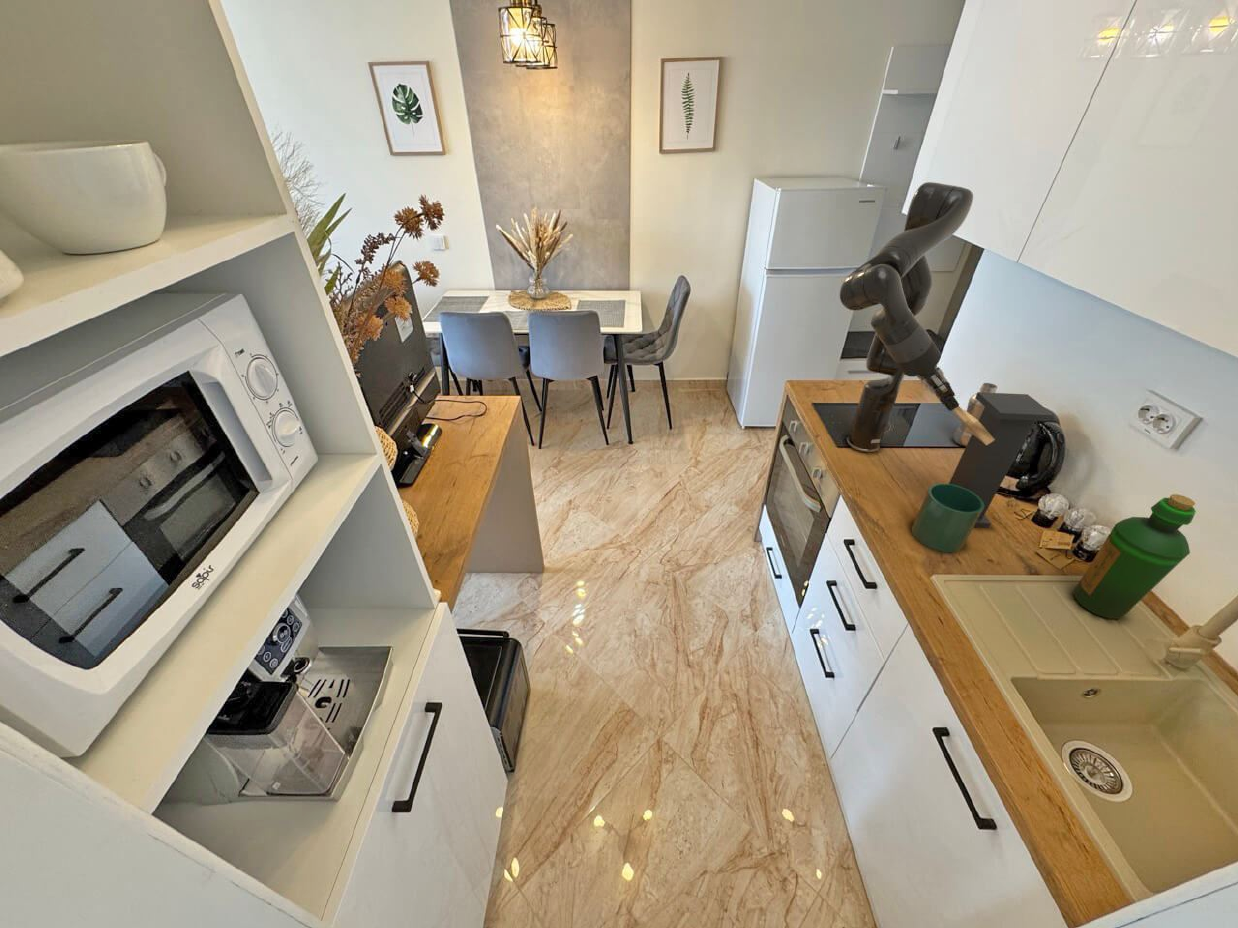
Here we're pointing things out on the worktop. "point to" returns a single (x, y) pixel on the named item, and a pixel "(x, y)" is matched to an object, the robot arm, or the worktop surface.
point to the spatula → (973, 425)
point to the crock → (947, 517)
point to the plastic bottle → (975, 410)
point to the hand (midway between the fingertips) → (950, 404)
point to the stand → (996, 444)
